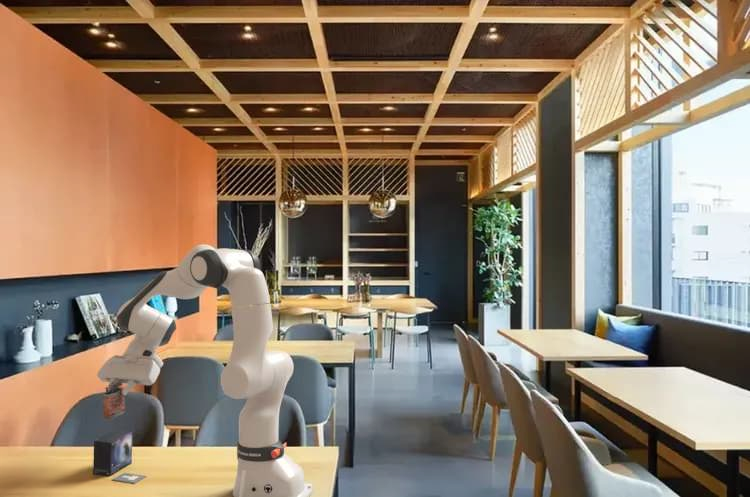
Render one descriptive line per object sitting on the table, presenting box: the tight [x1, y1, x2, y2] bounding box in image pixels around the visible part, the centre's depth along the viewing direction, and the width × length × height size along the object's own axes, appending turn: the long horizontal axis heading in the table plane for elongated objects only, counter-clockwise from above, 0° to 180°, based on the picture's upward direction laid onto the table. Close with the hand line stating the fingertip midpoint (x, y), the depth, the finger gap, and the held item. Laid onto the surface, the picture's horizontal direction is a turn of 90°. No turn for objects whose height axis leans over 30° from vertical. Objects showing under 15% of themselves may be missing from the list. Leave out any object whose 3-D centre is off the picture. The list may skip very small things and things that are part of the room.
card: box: [111, 472, 147, 484], centre depth 161 cm, size 8×5×1 cm, turn 74°
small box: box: [92, 429, 133, 477], centre depth 168 cm, size 11×6×10 cm, turn 168°
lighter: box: [101, 381, 126, 421], centre depth 168 cm, size 8×3×10 cm, turn 163°
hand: (115, 393), depth 169 cm, fingers closed on lighter, 3 cm apart
